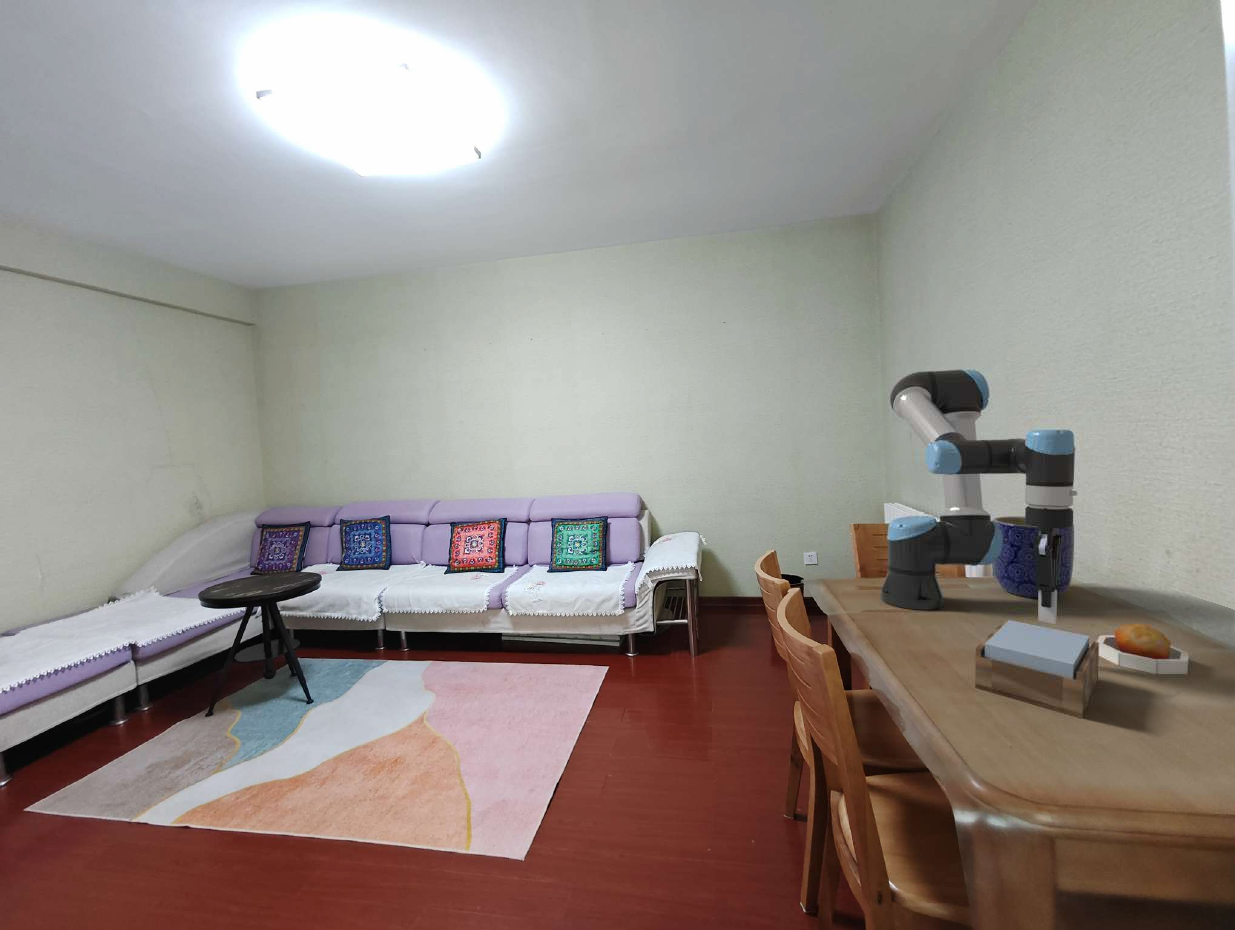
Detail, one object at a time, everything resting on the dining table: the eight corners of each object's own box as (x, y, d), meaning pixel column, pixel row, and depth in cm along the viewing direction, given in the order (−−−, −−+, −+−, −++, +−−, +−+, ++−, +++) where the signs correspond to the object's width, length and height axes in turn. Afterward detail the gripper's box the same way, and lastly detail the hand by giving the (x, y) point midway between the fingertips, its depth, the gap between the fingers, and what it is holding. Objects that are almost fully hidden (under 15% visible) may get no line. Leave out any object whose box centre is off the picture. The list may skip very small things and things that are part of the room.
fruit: (1148, 643, 112) (1161, 618, 108) (1168, 676, 106) (1183, 651, 101) (1100, 639, 115) (1112, 615, 110) (1117, 672, 108) (1130, 647, 104)
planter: (1091, 602, 142) (1093, 526, 141) (1022, 604, 143) (1023, 527, 141) (1037, 582, 161) (1039, 515, 159) (976, 584, 161) (977, 517, 160)
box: (1001, 658, 110) (1001, 622, 110) (1097, 681, 99) (1098, 642, 99) (975, 687, 98) (975, 647, 98) (1081, 718, 87) (1082, 673, 87)
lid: (1008, 632, 109) (1008, 620, 109) (1089, 649, 99) (1089, 636, 99) (984, 657, 97) (984, 643, 97) (1072, 679, 88) (1073, 664, 88)
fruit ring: (1093, 659, 108) (1093, 647, 108) (1102, 641, 117) (1102, 630, 117) (1186, 680, 99) (1186, 667, 98) (1188, 659, 107) (1189, 647, 107)
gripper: (1067, 511, 100) (1065, 634, 101) (1078, 504, 108) (1076, 618, 110) (1018, 508, 105) (1016, 625, 107) (1032, 501, 114) (1031, 609, 115)
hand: (1047, 621), depth 108 cm, fingers closed
